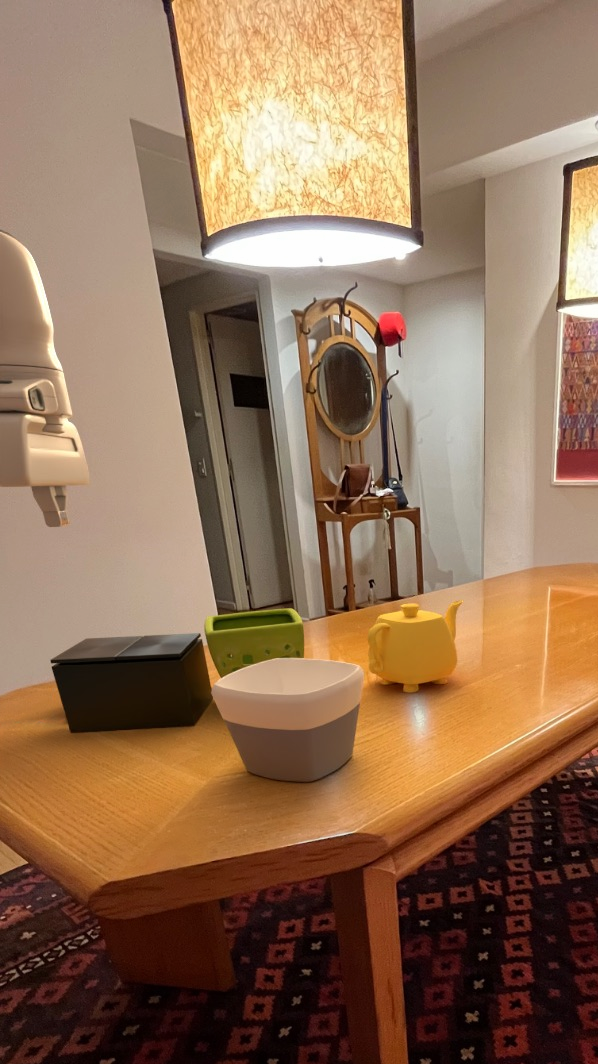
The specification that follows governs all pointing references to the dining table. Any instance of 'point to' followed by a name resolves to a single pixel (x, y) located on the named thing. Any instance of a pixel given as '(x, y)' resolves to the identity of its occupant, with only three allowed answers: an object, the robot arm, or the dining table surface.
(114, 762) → the dining table surface
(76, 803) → the dining table surface
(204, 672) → the black lidded box
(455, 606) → the teapot
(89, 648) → the flap
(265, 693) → the bowl
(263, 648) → the flower pot
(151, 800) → the dining table surface
